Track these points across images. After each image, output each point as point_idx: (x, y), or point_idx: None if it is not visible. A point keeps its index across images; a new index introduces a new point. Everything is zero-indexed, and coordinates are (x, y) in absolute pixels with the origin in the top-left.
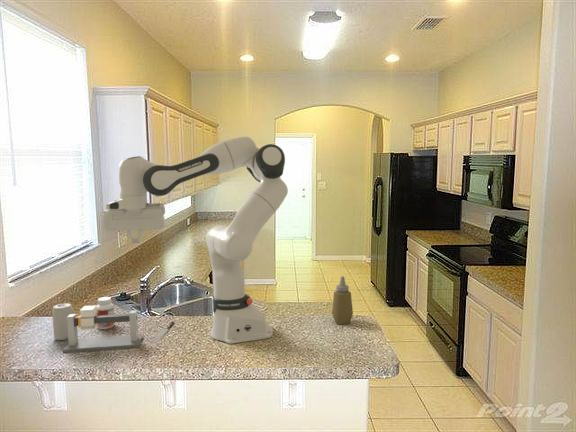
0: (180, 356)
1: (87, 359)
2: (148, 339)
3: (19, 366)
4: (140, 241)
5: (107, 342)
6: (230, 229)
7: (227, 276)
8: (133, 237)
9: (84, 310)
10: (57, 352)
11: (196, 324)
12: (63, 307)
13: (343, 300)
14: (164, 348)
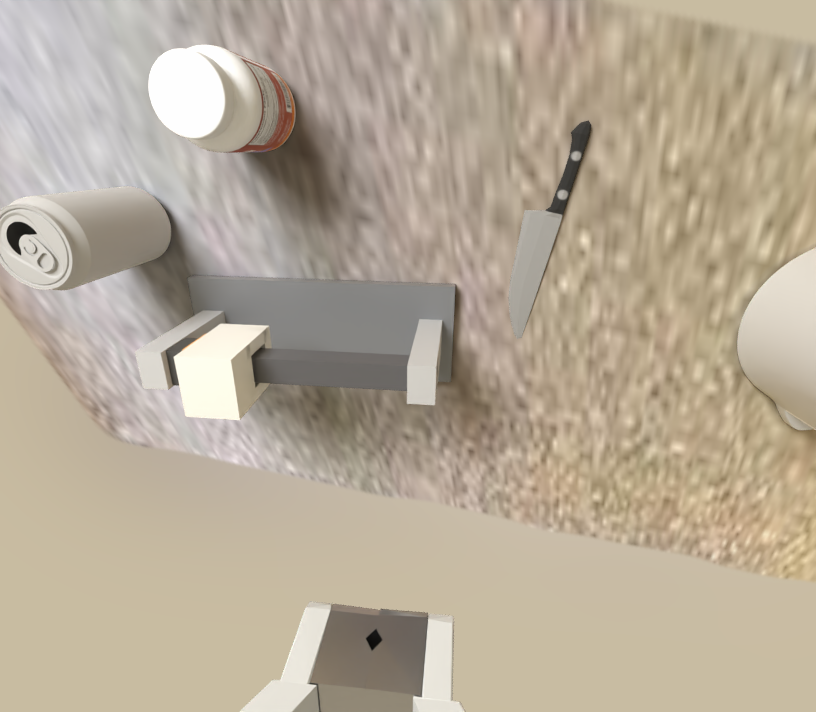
0: (595, 474)
1: (308, 429)
2: (479, 311)
3: (135, 430)
4: (452, 626)
5: (334, 339)
6: None
7: None
8: (315, 698)
9: (205, 416)
10: None
11: (703, 167)
12: (56, 279)
13: None
14: (544, 405)
